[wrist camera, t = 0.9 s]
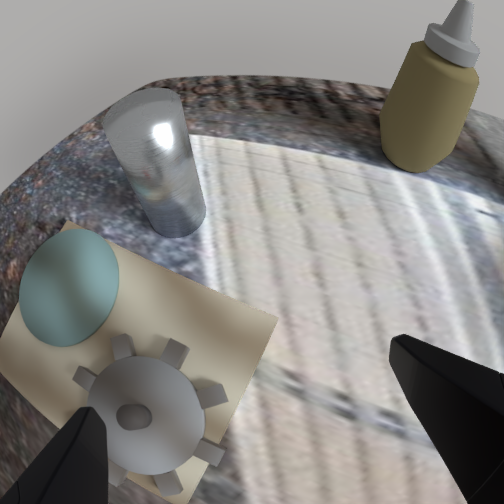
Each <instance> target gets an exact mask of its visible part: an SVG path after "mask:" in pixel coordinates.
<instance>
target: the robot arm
mask: <svg viewBox="0 0 504 504" xmlns="http://www.w3.org/2000/svg"><path fill="white" fill-rule="evenodd" d="M389 362H390V365H391V367H392V369H393V371H394V373H395V375H396V378H397V380H398V382H399V384H400V386H401V388H402V390H403V392H404V394H405V397H406V399H407V401H408V403H409V404H410V406H411V408H412V410H413V411H414V413H415V414H416V416H417V418H418V419H419V421H420V422H421V424H422V426H423V427H424V429H425V431H426V432H427V434H428V436H429V437H430V439H431V441H432V442H433V444H434V446H435V447H436V449H437V451H438V452H439V454H440V456H441V457H442V459H443V461H444V463H445V464H446V466H447V468H448V469H449V471H450V473H451V475H452V476H453V478H454V480H455V482H456V483H457V485H458V487H459V489H460V491H461V492H462V494H463V496H464V498H465V500H466V501H467V504H504V374H503V373H499V372H498V371H495V370H493V369H490V368H488V367H485V366H483V365H480V364H478V363H475V362H473V361H470V360H468V359H465V358H463V357H460V356H458V355H455V354H453V353H450V352H448V351H445V350H443V349H441V348H438V347H436V346H433V345H431V344H428V343H426V342H423V341H421V340H419V339H416V338H414V337H411V336H409V335H406V334H401V335H398V336H396V337H393V338H392V340H391V344H390V353H389ZM108 479H109V467H108V450H107V429H106V425H105V423H104V421H103V420H102V418H101V417H100V416H99V414H98V413H97V412H96V410H95V409H94V408H93V407H91V406H86V407H80V408H79V409H78V410H77V411H76V412H75V413H74V414H73V415H72V416H71V418H70V419H69V420H68V421H67V422H66V423H65V424H64V426H63V427H62V428H61V429H60V430H59V431H58V433H57V434H56V435H55V436H54V437H53V438H52V439H51V441H50V442H49V443H48V444H47V445H46V446H45V448H44V449H43V450H42V451H41V452H40V453H39V455H38V456H37V457H36V458H35V459H34V460H33V462H32V463H31V464H30V465H29V466H28V468H27V469H26V470H25V471H24V472H23V473H22V475H21V476H20V477H19V478H18V481H16V482H15V483H14V484H13V485H12V487H11V488H10V489H9V490H8V491H7V492H6V493H5V495H4V496H3V497H2V498H1V499H0V504H108Z"/></svg>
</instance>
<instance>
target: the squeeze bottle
mask: <svg viewBox="0 0 504 504" xmlns="http://www.w3.org/2000/svg"><path fill="white" fill-rule="evenodd" d="M473 9H474V4H473V3H471V2H470V1H468V0H458V1H457V3H456V4H455V6H454V7H453V9H452V10H451V12H450V14H449V15H448V17H447V18H446V20H445V21H444V23H443V24H442V25H440V24H436V23H431V24H429V25H428V29H427V32H426V35H425V38H424V41H420V42H415V43H412V44H411V46H410V49H409V51H408V53H407V55H406V58H405V60H404V62H403V64H402V66H401V69H400V71H399V73H398V76H397V77H396V80H395V82H394V84H393V86H392V88H391V90H390V93H389V95H388V97H387V99H386V101H385V103H384V105H383V108H382V110H381V112H380V114H379V118H380V134H381V146H382V150H383V152H384V153H385V155H386V157H387V158H388V159H389V160H390V161H391V162H392V163H394V164H395V165H396V166H398V167H400V168H402V169H404V170H405V171H409V172H414V173H421V172H425V171H427V170H428V169H430V168H431V167H433V166H434V165H436V164H437V163H438V162H440V161H441V160H443V159H444V158H446V157H447V156H448V155H449V154H450V153H451V152H452V151H453V149H454V147H455V144H456V142H457V140H458V137H459V135H460V132H461V130H462V127H463V125H464V122H465V120H466V117H467V115H468V112H469V110H470V107H471V104H472V102H473V99H474V96H475V93H476V90H477V88H478V85H479V77H478V75H477V72H476V71H475V69H474V68H473V67H474V66H475V64H476V61H477V59H478V56H479V54H480V50H479V48H478V47H477V46H476V44H475V43H474V42H472V41H471V31H472V22H473Z"/></svg>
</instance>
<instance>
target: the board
mask: <svg viewBox="0 0 504 504" xmlns="http://www.w3.org/2000/svg"><path fill="white" fill-rule="evenodd" d="M277 321H278V317H275V316H273V315H271V314H268V313H266V312H263V311H261V310H259V309H256V308H254V307H252V306H249V305H247V304H245V303H242V302H240V301H238V300H235V299H233V298H231V297H228V296H226V295H224V294H222V293H219V292H217V291H215V290H212V289H210V288H208V287H206V286H204V285H201V284H199V283H197V282H195V281H192V280H190V279H188V278H186V277H184V276H181V275H179V274H177V273H175V272H173V271H171V270H169V269H166V268H164V267H162V266H160V265H158V264H156V263H154V262H151V261H149V260H147V259H145V258H143V257H141V256H139V255H137V254H135V253H133V252H131V251H129V250H126V249H124V248H122V247H120V246H118V245H116V244H114V243H112V242H110V241H108V240H106V239H104V238H102V237H101V236H100V235H98V234H97V233H95V232H92V231H90V230H86V229H84V228H82V227H80V226H79V225H77V224H75V223H73V222H71V221H69V220H67V222H66V223H65V225H64V226H63V228H62V229H61V231H60V232H59V233H58V234H56V235H54V236H53V237H51V238H50V239H48V240H47V241H46V242H44V243H43V244H42V245H41V246H40V247H39V248H38V249H37V251H36V252H35V253H34V254H33V256H32V257H31V259H30V260H29V262H28V264H27V266H26V268H25V271H24V273H23V276H22V279H21V284H20V291H19V301H18V303H17V305H16V307H15V309H14V311H13V313H12V315H11V317H10V319H9V321H8V323H7V325H6V327H5V329H4V332H3V334H2V336H1V338H0V372H1V373H2V375H3V376H4V377H5V378H6V379H7V380H8V381H9V382H10V383H11V384H12V385H13V386H14V387H15V388H16V389H17V390H18V391H19V392H20V393H21V394H22V395H23V396H24V397H25V398H26V399H27V400H28V401H29V402H30V403H31V404H32V405H33V406H34V407H35V408H36V409H37V410H39V411H40V412H41V413H42V414H43V415H44V416H45V417H46V418H47V419H49V420H50V421H51V422H52V423H53V424H54V425H56V426H57V427H58V428H59V429H61V428H62V427H63V426H64V424H65V423H66V422H67V421H68V420H69V419H70V418H71V416H72V415H73V414H74V413H75V412H76V411H77V410H78V409H79V408H80V407H86V406H91V407H93V408H94V409H95V410H96V412H97V413H98V414H99V416H100V417H101V418H102V420H103V421H104V423H105V425H106V429H107V450H108V467H109V479H108V482H110V483H111V484H113V485H114V486H116V487H117V486H119V485H121V484H123V482H124V480H125V478H126V477H127V478H128V479H130V480H132V481H133V482H135V483H137V484H138V485H140V486H142V487H143V488H145V489H147V490H149V491H150V492H152V493H154V494H156V495H158V496H159V497H161V498H163V499H165V500H167V501H169V502H171V503H173V504H188V502H189V500H190V498H191V496H192V494H193V493H194V491H195V489H196V487H197V485H198V483H199V481H200V480H201V478H202V476H203V474H204V472H205V470H206V468H207V466H208V464H209V463H210V464H212V465H214V466H216V467H217V465H218V464H219V462H220V460H221V458H222V456H223V454H224V452H225V451H226V449H227V448H226V447H224V446H221V445H219V443H220V441H221V439H222V437H223V435H224V433H225V431H226V429H227V427H228V425H229V423H230V421H231V419H232V417H233V415H234V413H235V411H236V409H237V407H238V405H239V403H240V401H241V399H242V397H243V395H244V393H245V390H246V388H247V386H248V384H249V382H250V380H251V378H252V376H253V374H254V372H255V369H256V367H257V365H258V363H259V361H260V359H261V356H262V354H263V352H264V350H265V348H266V346H267V343H268V341H269V339H270V337H271V334H272V332H273V330H274V328H275V326H276V323H277Z"/></svg>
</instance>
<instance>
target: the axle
mask: <svg viewBox="0 0 504 504" xmlns="http://www.w3.org/2000/svg"><path fill="white" fill-rule="evenodd" d="M103 129H104V131H105V134H106V136H107V138H108V140H109V142H110V144H111V146H112V148H113V150H114V152H115V154H116V157H117V159H118V161H119V163H120V165H121V167H122V169H123V171H124V173H125V175H126V177H127V179H128V181H129V183H130V185H131V187H132V188H133V190H134V192H135V194H136V196H137V198H138V200H139V202H140V204H141V206H142V208H143V210H144V211H145V213H146V215H147V217H148V219H149V221H150V223H151V224H152V226H153V228H154V229H155V231H156V232H157V233H159V234H160V235H162V236H164V237H168V238H180V237H184V236H187V235H189V234H191V233H193V232H194V231H195V230H196V229H198V228H199V226H200V225H201V224H202V222H203V220H204V218H205V215H206V206H205V202H204V198H203V194H202V190H201V186H200V181H199V177H198V173H197V169H196V165H195V161H194V156H193V152H192V148H191V143H190V139H189V135H188V130H187V126H186V122H185V117H184V113H183V108H182V104H181V99H180V97H179V96H178V94H177V93H175V92H174V91H172V90H169V89H165V88H149V89H144V90H140V91H137V92H134V93H132V94H130V95H128V96H126V97H124V98H122V99H121V100H119V101H118V102H117V103H115V104H114V105H113V106H112V107H111V108H110V109H109V111H108V112H107V114H106V115H105V118H104V120H103Z"/></svg>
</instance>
